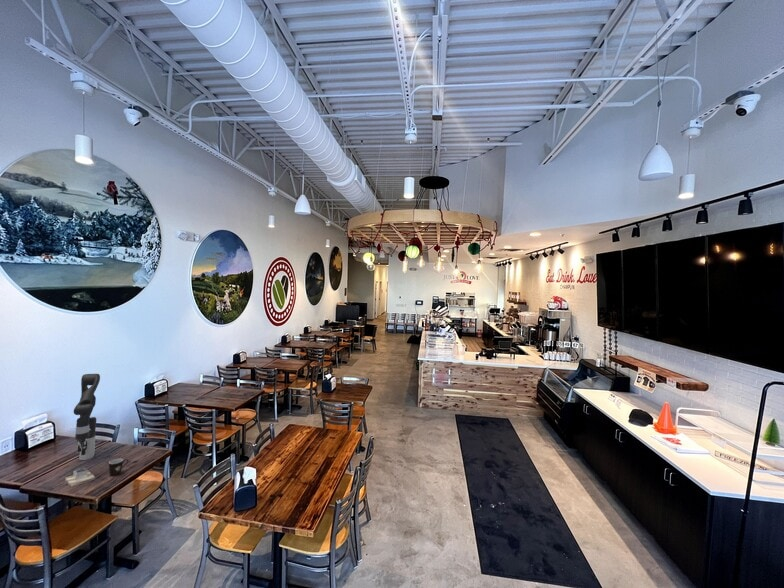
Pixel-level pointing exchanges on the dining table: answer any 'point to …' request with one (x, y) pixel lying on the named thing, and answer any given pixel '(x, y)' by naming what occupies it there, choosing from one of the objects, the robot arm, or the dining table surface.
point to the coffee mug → (116, 466)
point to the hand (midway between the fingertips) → (81, 453)
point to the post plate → (73, 482)
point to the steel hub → (80, 474)
